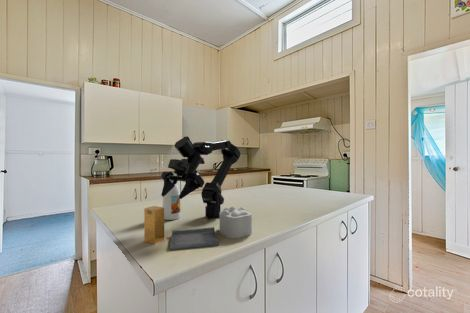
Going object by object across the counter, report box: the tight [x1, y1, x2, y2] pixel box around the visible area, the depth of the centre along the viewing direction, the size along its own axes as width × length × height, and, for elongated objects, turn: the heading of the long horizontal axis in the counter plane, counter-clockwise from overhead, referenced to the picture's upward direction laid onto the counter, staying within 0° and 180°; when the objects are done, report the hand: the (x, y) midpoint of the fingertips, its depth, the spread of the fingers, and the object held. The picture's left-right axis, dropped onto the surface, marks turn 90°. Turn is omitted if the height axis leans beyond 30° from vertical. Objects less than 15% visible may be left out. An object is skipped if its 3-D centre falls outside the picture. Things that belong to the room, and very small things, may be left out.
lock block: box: [143, 205, 165, 245], centre depth 74 cm, size 4×5×11 cm
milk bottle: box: [162, 173, 181, 221], centre depth 102 cm, size 8×8×20 cm
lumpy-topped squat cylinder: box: [219, 206, 253, 239], centre depth 83 cm, size 10×13×9 cm
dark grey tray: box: [169, 226, 220, 251], centre depth 74 cm, size 15×12×2 cm
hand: (170, 197), depth 82 cm, fingers open, 9 cm apart
